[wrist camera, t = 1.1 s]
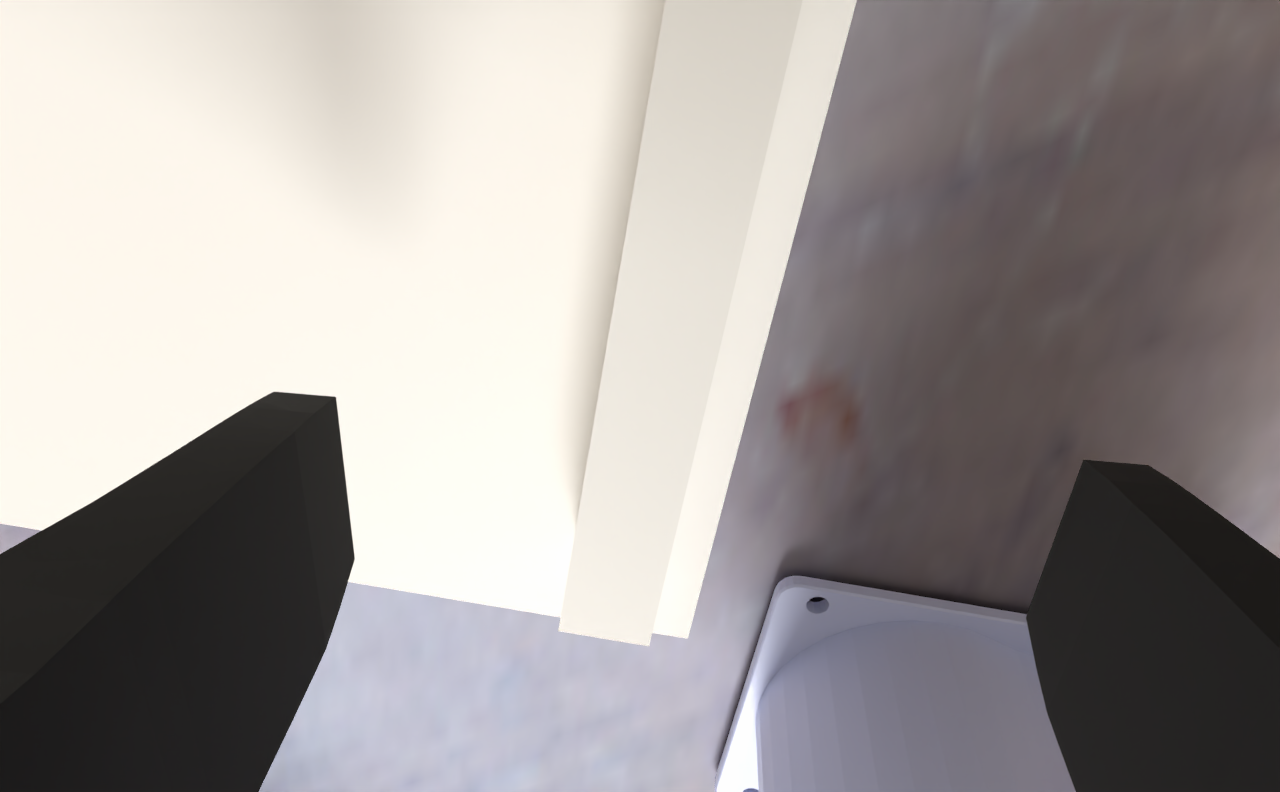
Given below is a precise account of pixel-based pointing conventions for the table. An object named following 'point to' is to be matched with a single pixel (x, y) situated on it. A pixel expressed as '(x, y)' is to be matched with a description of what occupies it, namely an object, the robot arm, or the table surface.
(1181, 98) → the table surface
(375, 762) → the table surface
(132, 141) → the lid
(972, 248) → the table surface
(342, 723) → the table surface
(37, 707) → the robot arm
